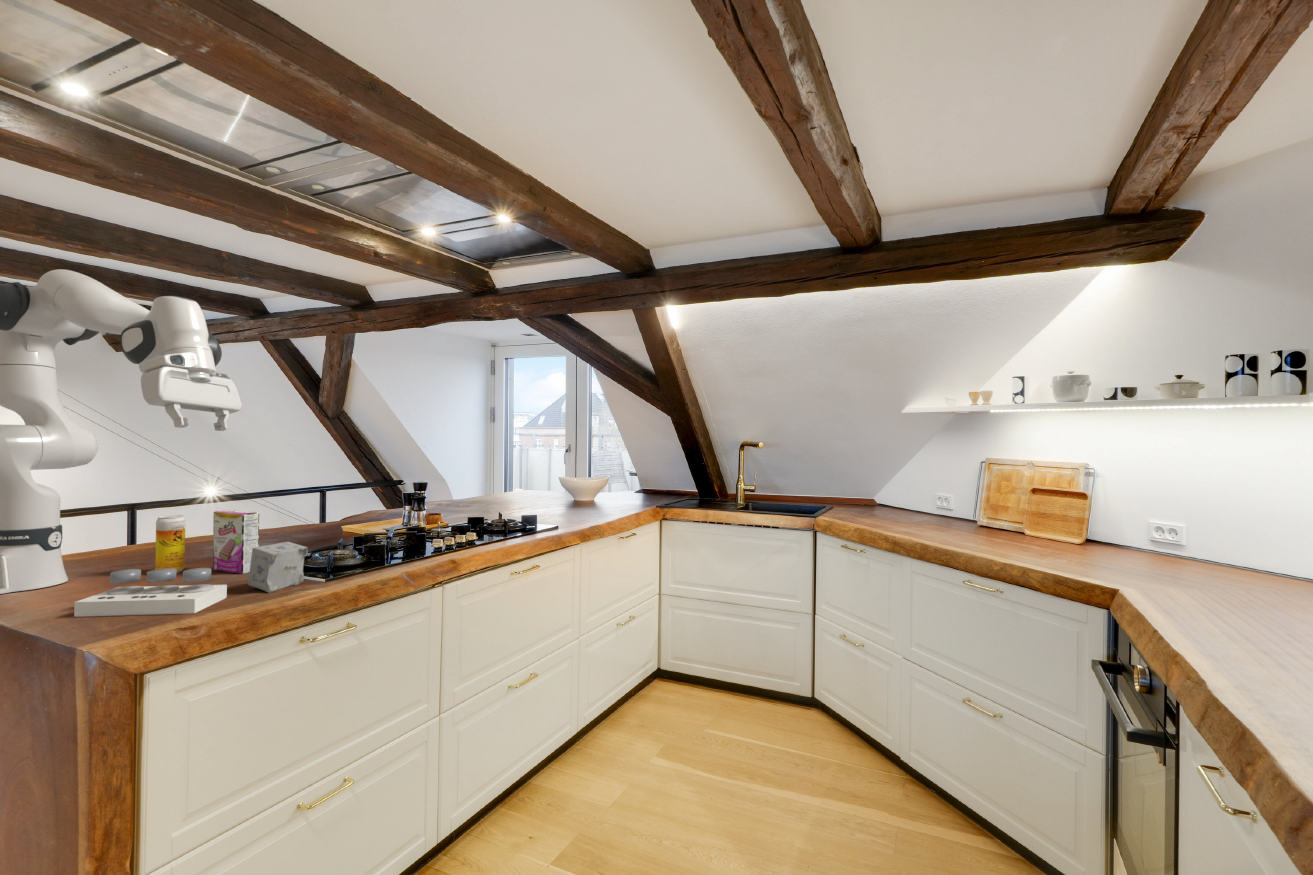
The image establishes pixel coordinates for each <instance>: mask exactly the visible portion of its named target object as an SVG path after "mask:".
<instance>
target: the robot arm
mask: <svg viewBox="0 0 1313 875" xmlns="http://www.w3.org/2000/svg"><path fill="white" fill-rule="evenodd" d="M207 325H208V324H207V322H206V318H205V316H204V312H203V310H202V308H201V306H200V304H199V303H198V302H197V301H196V300H194V299H192V298H187V297H183V296H178V295H162V296H158V297H156V298H154V299H153V300H152V304H151V308H150V310H149V309H147V308H146V307H144V306H142V305H140V304H138V303H137V302H136V301H135V302H134V301H132V300H131V299H129V298H127V297H125V296H124V295H123V294H121V293H119V292H117V291H116V290H114V289H112V288H110V287H109V286H107V285H105V284H104V283H103V282H100V281H98V280H97V279H94V278H93V277H90V276H88V275H86V274H83V273H80V272H77V271H75V270H70V269H64V268H63V269H61V268H59V269H53V270H50V271H49V270H48V271H47V272H46V273H44V274H42V275H41V277H39V280H38V281H37V284H36V285H33V286H29V285H23V284H21V282H18V281H14V282H9V283H0V406H1V407H3V408H5V409H7V410H10V411H12V412H14V413H16V414H17V415H19V417H20V418H21V419H22V420H23V422H24V424H0V595H1V594H2V595H3V594H7V593H13V592H21V591H22V592H24V591H31V590H36V589H42V588H48V587H53V586H56V585H60V584H64V583H66V582H68V581H69V578H68V575H67V573H66V570H65V566H64V561H63V556H62V549H61V546H62V542H63V525H62V524H61V496H60V494H59V493H58V492H57V491H56V490H54V489H53V488H51V487H48V486H46V485H44V484H40V483H37V482H36V481H35V480H34V479H33V477H32V473H31V471H32V470H34V471H35V470H37V471H38V470H61V469H62V470H64V469H70V468H75V467H81V466H85V465H88V464H89V463H91V461H93V460H94V458H96V456H97V454H98V451H99V443H98V440H97V438H96V436H95V435H94V434H93V432H91V431H90V430H89V429H87V428H85V427H83V426H81V425H80V424H79V423H78V422H76V421H75V420H74V418H72V416H71V415H70V414H69V413H68V411H67V410H66V408H65V407H64V405H63V402H62V401H61V398H60V397H61V396H60V392H59V385H58V376H57V362H56V358H55V357H56V355H55V349H56V347H57V344H59V343H60V342H61V341H63V343H64V344H66V345H68V346H72V345H73V346H74V345H75V344H77V343H78V342H81V341H88V340H89V339H92V338H94V337H95V336H97V335H98V334H100V333H105V334H111V335H112V334H114V335H119V336H120V337H119V344H120V349H121V351H122V353H123V355H124V357H126V358H125V359H127V360H128V361H129V362H130V363H131V364H134V365H138V368H139V370H140V373H142V374H141V376H140V384H141V385H140V386H141V387H140V388H141V391H142V392H141V393H142V397H143V399H144V401H145V402H146V403H147V404H148V405H149V406H156V407H164V410H165V412H166V414H167V415H168V416H169V418H171V419H172V422H173V426H174V427H175V428H178V429H180V428H181V429H184V428H187V427H188V426H189V422H188V418H187V417H184V416H183V414H182V413H181V411H180V410H181V409H183V410H189V411H191V410H192V411H198V412H199V411H200V412H206V413H207V412H209V413H214V414H215V417H217V421H216V422H214V423H213V427H214V431H217V432H224V431H226V430H228V425H227V424H228V423H227V421H228V419H229V417H230V414H234V413H238V412H240V411H241V410H242V408H243V404H242V403H243V402H242V401H241V397H240V394H239V391H238V388H237V386H236V384H235V383H234V382H233V381H234V380H233V379H231V378H230V376H228V375H227V374H225V373H218V372H217V368H216V367H217V366H218V365H219V363H220V361H221V360H222V356H223V354H222V348H221V345H220V343H219V341H218V339H216V336H214V335H213V334H212V333H211V332H209V329H208V326H207Z"/></svg>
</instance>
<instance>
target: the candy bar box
mask: <svg viewBox="0 0 1313 875" xmlns="http://www.w3.org/2000/svg"><path fill="white" fill-rule="evenodd" d="M212 523H213V525H212V526H213V529H212V530H213V531H212V532H213V535H212V536H213V537H212V538H213V540H212V541H213V544H212V545H213V546H212V547H213V548H212V552H213V553H212V571H215V572H222V573H232V574H241V575H244V574H245V575H246V574H249V573H250V564H251V556H252V549H253V548H254V547H260V512H259V511H249V510H239V509H221V510H215V511H213V522H212Z"/></svg>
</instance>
